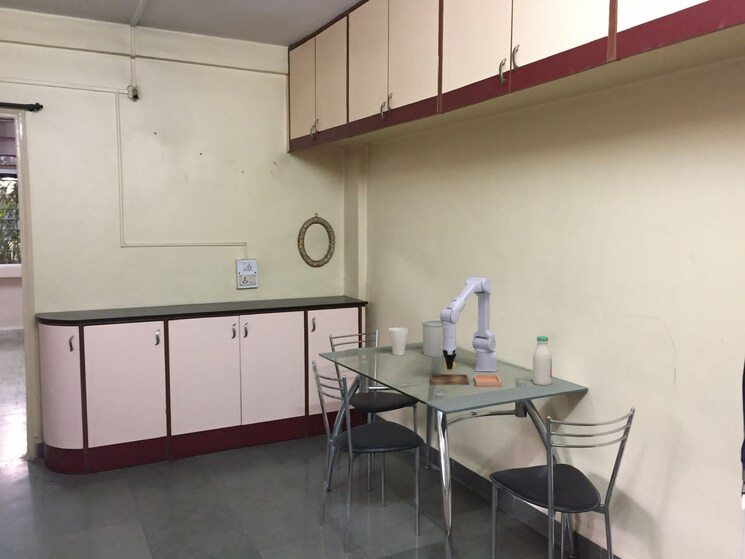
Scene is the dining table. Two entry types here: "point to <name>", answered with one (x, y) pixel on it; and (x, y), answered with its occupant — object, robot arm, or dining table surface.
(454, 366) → the ball
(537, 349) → the milk bottle
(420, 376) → the dining table surface
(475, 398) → the dining table surface
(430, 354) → the utensil holder
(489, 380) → the dish
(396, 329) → the cup
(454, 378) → the tray
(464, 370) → the dining table surface
